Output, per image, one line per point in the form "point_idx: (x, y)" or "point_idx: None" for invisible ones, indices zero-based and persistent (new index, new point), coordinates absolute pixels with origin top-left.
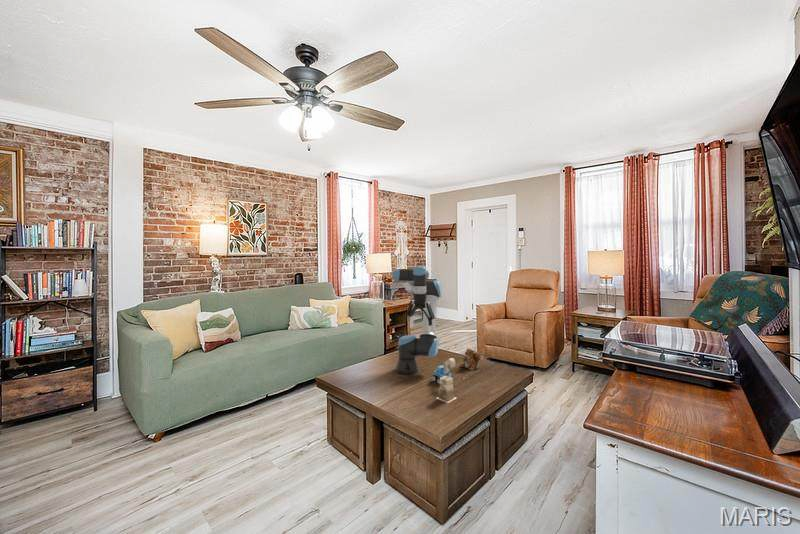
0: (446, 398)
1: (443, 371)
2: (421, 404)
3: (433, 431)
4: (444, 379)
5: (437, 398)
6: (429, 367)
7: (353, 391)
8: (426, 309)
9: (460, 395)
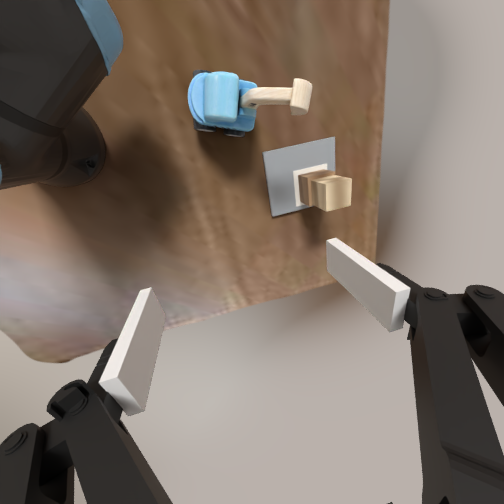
0: None
1: (248, 116)
2: (289, 241)
3: None
4: (340, 206)
5: (299, 204)
6: None
7: None
8: (496, 468)
9: (316, 136)
